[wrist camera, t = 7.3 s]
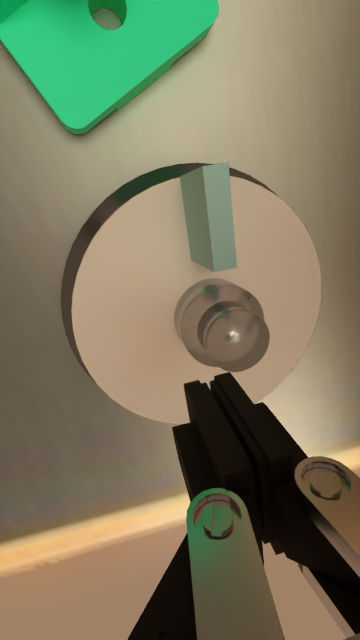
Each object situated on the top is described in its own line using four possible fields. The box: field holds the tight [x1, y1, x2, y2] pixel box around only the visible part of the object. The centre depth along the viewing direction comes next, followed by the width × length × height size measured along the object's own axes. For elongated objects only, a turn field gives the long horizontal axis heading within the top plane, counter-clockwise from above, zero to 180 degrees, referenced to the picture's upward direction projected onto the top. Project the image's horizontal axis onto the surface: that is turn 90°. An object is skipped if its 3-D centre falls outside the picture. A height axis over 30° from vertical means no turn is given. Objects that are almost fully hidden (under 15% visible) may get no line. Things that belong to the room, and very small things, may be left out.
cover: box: [174, 278, 270, 372], centre depth 21 cm, size 6×6×5 cm
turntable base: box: [61, 163, 277, 381], centre depth 27 cm, size 22×22×1 cm
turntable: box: [72, 163, 322, 424], centre depth 23 cm, size 20×20×7 cm
